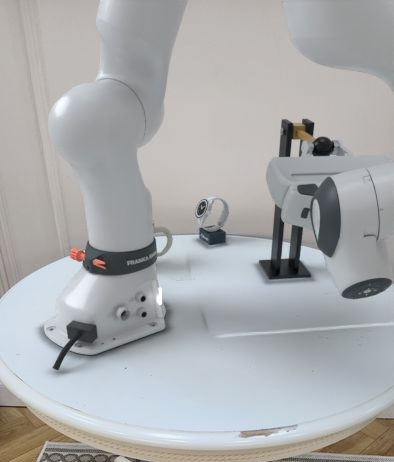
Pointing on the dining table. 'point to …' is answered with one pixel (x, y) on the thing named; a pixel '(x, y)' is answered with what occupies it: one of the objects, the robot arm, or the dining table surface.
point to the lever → (321, 144)
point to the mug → (168, 235)
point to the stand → (276, 265)
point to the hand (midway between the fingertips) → (320, 143)
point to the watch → (213, 232)
